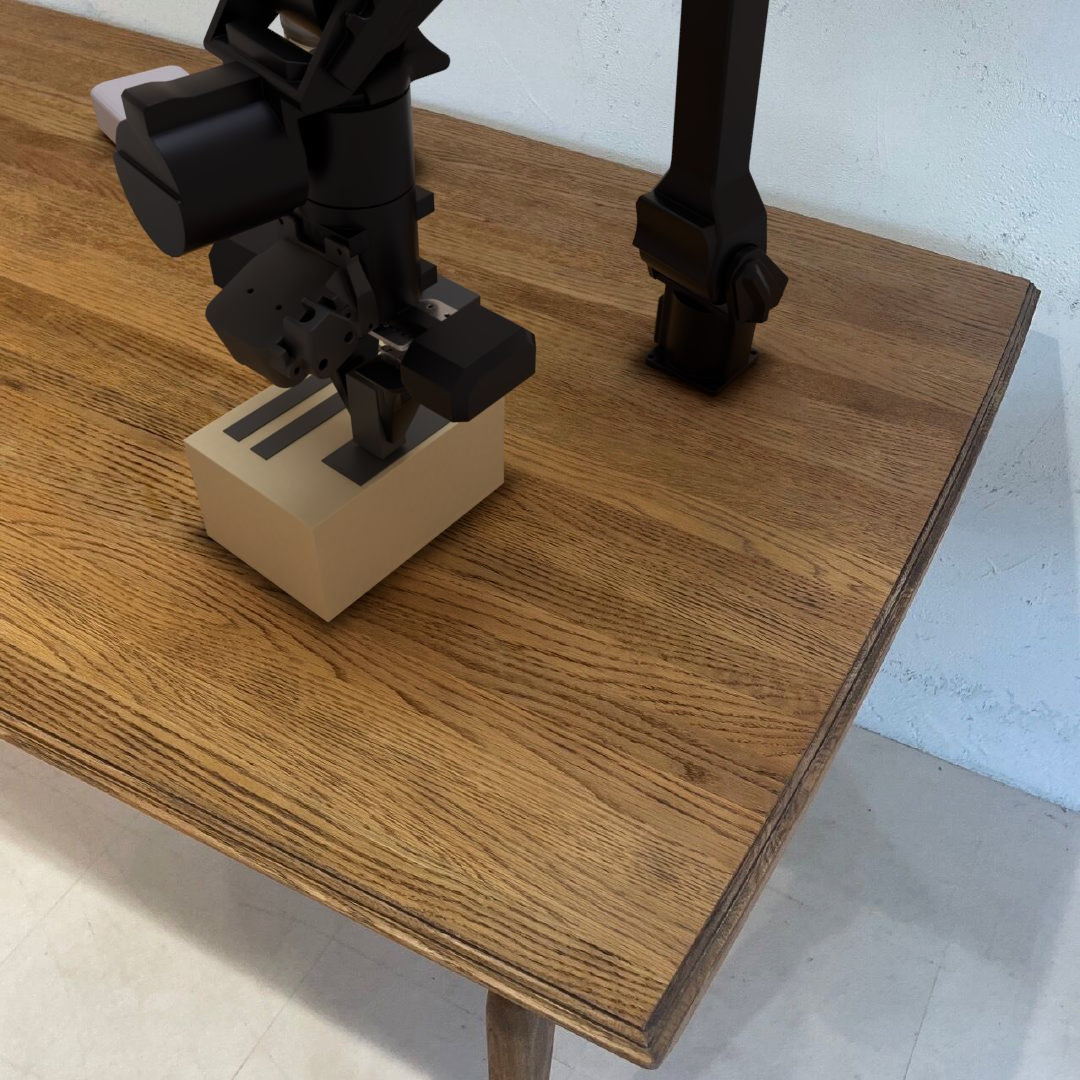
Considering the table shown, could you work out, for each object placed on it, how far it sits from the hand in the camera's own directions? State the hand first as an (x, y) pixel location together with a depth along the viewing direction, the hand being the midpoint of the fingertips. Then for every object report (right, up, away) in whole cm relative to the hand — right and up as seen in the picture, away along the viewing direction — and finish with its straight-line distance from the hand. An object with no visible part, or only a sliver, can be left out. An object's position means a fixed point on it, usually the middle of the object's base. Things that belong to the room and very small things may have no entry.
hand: (378, 428), depth 65 cm
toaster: (-2, -4, +9) cm, 10 cm away
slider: (0, -1, +1) cm, 1 cm away
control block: (-3, +11, +23) cm, 26 cm away
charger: (-24, +29, +40) cm, 55 cm away
